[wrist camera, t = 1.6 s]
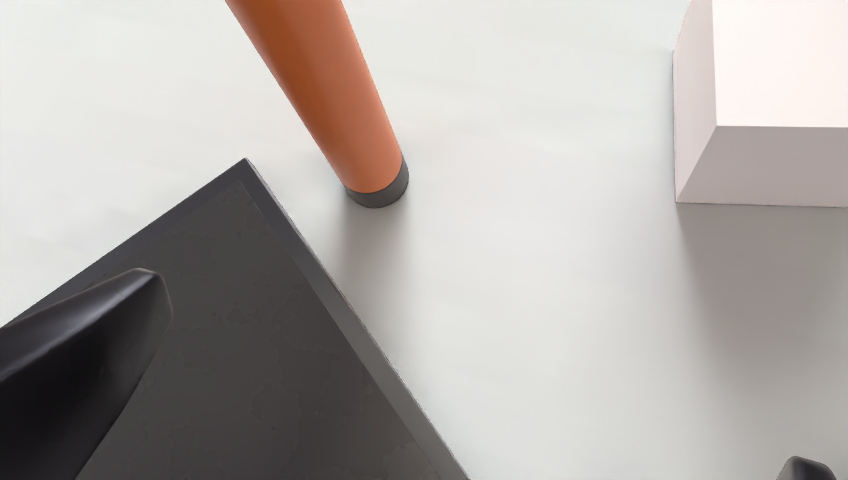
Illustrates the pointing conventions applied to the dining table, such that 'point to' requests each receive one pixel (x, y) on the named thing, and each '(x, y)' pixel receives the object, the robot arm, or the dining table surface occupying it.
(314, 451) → the tablet
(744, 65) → the adhesive note
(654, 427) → the dining table surface
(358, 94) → the stylus
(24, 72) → the dining table surface
